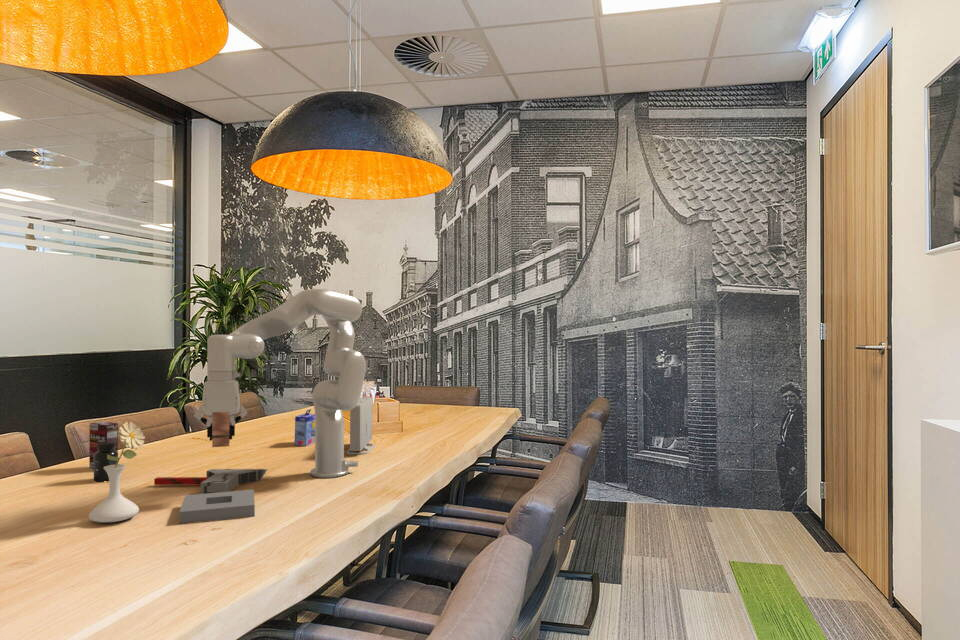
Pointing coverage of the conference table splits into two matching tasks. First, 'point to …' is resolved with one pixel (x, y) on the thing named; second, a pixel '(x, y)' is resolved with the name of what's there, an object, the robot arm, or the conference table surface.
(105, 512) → the flower in vase
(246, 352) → the robot arm
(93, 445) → the supplement box
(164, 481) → the grey and red axe
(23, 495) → the conference table surface
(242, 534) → the conference table surface
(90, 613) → the conference table surface
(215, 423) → the peg
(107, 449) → the supplement bottle
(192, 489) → the conference table surface
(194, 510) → the board
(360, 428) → the network device
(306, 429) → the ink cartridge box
